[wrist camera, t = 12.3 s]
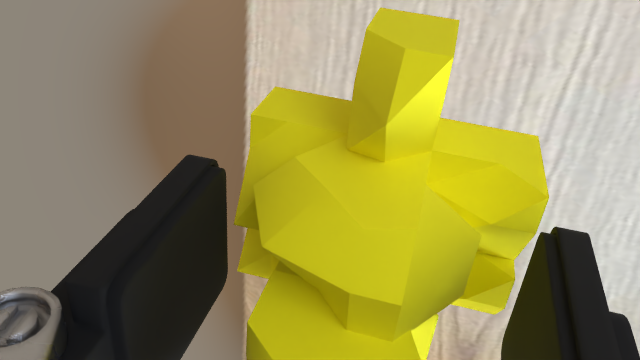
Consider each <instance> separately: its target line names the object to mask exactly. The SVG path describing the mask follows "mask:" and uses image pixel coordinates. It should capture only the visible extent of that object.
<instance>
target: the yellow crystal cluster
mask: <svg viewBox="0 0 640 360" xmlns="http://www.w3.org/2000/svg"><path fill="white" fill-rule="evenodd" d="M458 27H459V20H455V19H449V18H443V17H436V16H430V15H424V14H418V13H411V12H405V11H399V10H392V9H386V8H380V9H379V10H378V12H377V13H376V15H375V17H374V18H373V20H372V21H371V23H370V24H369V26H368V27H367V29H366V33H365V37H364V42H363V46H362V51H361V55H360V60H359V64H358V69H357V73H356V78H355V82H354V90H353V97H352V101H349V100H344V99H338V98H333V97H328V96H323V95H317V94H312V93H307V92H301V91H296V90H291V89H285V88H280V87H274V89H273V90H272V91H271V92H270V93H269V94H268V95H267V97H266V98H265V99H264V100H263V101H262V102H261V103H260V105H259V106H258V107H257V108H256V109H255V110H254V111H253V113H252V114H251V129H250V150H249V155H248V160H247V164H246V169H245V174H244V179H243V183H242V188H241V193H240V198H239V202H238V207H237V212H236V216H235V221H234V225H238V226H242V227H246V228H248V229H247V233H246V237H245V241H244V245H243V249H242V254H241V258H240V262H239V266H238V270H237V271H239V272H243V273H247V274H251V275H255V276H259V277H263V278H267V279H269V280H268V282H267V284H266V286H265V288H264V290H263V292H262V294H261V296H260V298H259V300H258V302H257V304H256V306H255V308H254V310H253V312H252V314H251V316H250V318H249V320H248V322H247V346H246V356H247V360H426V359H427V355H428V352H429V348H430V345H431V341H432V338H433V334H434V331H435V327H436V324H437V320H438V314H437V313H438V312H440V311H441V310H443V309H444V308H445V307H447V306H448V305H450V304H452V305H457V306H461V307H465V308H469V309H473V310H477V311H481V312H486V313H490V314H496V313H498V312H500V311H501V310H503V309H505V306H506V303H507V300H508V298H509V295H510V292H511V289H512V287H513V284H514V281H515V271H514V260H515V258H516V257H517V256H518V255H519V254H520V252H521V251H522V250H523V249H524V248H525V246H526V245H527V244H528V243H529V241H530V240H531V239H532V238H533V237H534V235H535V234H536V232H537V229H538V226H539V224H540V221H541V218H542V216H543V213H544V210H545V207H546V205H547V202H548V199H549V194H548V189H547V183H546V177H545V172H544V166H543V160H542V155H541V149H540V144H539V138H538V136H535V135H529V134H524V133H519V132H514V131H508V130H503V129H498V128H492V127H487V126H482V125H476V124H471V123H466V122H460V121H455V120H450V119H445V118H440V115H441V111H442V107H443V103H444V98H445V94H446V89H447V85H448V80H449V76H450V72H451V67H452V63H453V58H454V52H455V46H456V40H457V33H458Z"/></svg>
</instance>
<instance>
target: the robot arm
mask: <svg viewBox="0 0 640 360" xmlns="http://www.w3.org/2000/svg"><path fill="white" fill-rule="evenodd" d="M226 208H227V203H226V172H225V170H224V169H223V168H219V167H218V163H217V161H216V160H214V159H209V158H204V157H199V156H194V155H187V156H186V157H185V158H184V159H183V160H182V161H181V162H180V163H179V164H178V165H177V166H176V167H175V168H174V169H173V170H172V171H171V172H170V173H169V174H168V175H167V176H166V177H165V178H164V179H163V180H162V181H161V182H160V183H159V184H158V185H157V186H156V187H155V188H154V189H153V190H152V192H151V193H150V194H149V195H148V196H147V197H146V198H145V199H144V200H143V201H142V202H141V203H140V204H139V205H138V206H137V207H136V208H135V209H133V210H131V211H130V212H129V213H127V214H126V215H125V216H124V217H123V218H122V219H121V220H120V221H119V222H118V223H117V224H116V225H115V226H114V228H113V229H112V230H111V231H110V232H109V233H108V234H107V235H106V236H105V237H104V238H103V239H102V240H101V241H100V242H99V243H98V244H97V245H96V246H95V247H94V248H93V249H92V250H91V251H90V252H89V253H88V254H87V255H86V256H85V257H84V258H83V259H82V260H81V261H80V262H79V263H78V264H77V265H76V266H75V267H74V268H73V269H72V270H71V272H69V274H68V275H67V276H66V277H65V278H64V279H63V280H62V281H61V282H60V283H59V284H58V285H57V286H56V287H55V288H54V289H53V290H52V291H51V292H50V291H47V290H44V289H41V288H35V287H20V288H12V289H8V290H5V291H2V292H0V360H180V359H181V358H182V356H183V354H184V353H185V351H186V349H187V348H188V346H189V344H190V343H191V341H192V339H193V338H194V336H195V334H196V332H197V331H198V329H199V327H200V326H201V324H202V322H203V321H204V319H205V317H206V316H207V314H208V312H209V311H210V309H211V307H212V305H213V304H214V302H215V301H216V299H217V297H218V295H219V294H220V292H221V291H222V289H223V287H224V284H225V282H226V278H227V272H228V263H227V209H226ZM501 360H640V356H639V353H638V350H637V346H636V343H635V339H634V336H633V333H632V329H631V326H630V323H629V321H628V319H627V318H626V317H625V316H624V315H623V314H618V313H614V312H609V309H608V305H607V301H606V297H605V293H604V290H603V286H602V282H601V278H600V274H599V270H598V267H597V263H596V259H595V255H594V251H593V248H592V244H591V240H590V237H589V234H587V233H584V232H579V231H574V230H569V229H564V228H559V227H554V228H553V230H552V231H551V233H550V234H549V233H544V232H541V233H540V235H539V237H538V239H537V242H536V245H535V248H534V251H533V254H532V257H531V259H530V262H529V265H528V268H527V271H526V274H525V277H524V280H523V282H522V285H521V288H520V291H519V294H518V297H517V300H516V303H515V305H514V308H513V311H512V314H511V317H510V320H509V323H508V326H507V328H506V331H505V334H504V338H503V342H502V350H501Z"/></svg>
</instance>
